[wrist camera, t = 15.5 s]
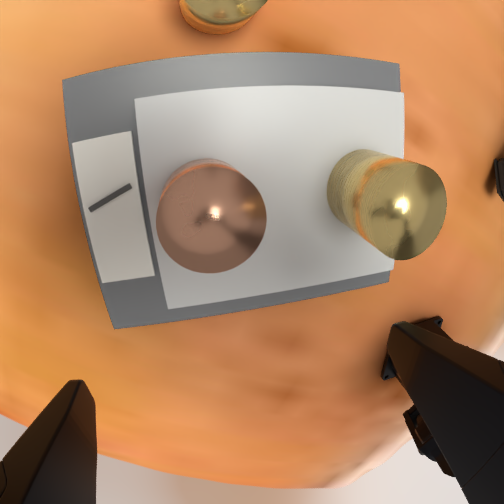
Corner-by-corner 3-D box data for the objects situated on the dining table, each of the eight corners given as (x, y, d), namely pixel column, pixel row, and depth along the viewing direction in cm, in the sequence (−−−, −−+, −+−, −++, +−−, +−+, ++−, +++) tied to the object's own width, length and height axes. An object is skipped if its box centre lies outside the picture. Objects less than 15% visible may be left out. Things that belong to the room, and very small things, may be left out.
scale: (372, 267, 24) (400, 292, 21) (118, 308, 21) (110, 345, 18) (378, 66, 18) (415, 62, 14) (75, 83, 15) (51, 77, 11)
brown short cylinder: (255, 238, 17) (271, 262, 14) (170, 254, 16) (168, 282, 13) (245, 151, 15) (260, 158, 12) (152, 167, 14) (145, 178, 12)
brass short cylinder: (391, 222, 18) (439, 252, 14) (325, 230, 17) (367, 267, 13) (395, 149, 16) (450, 164, 12) (326, 150, 16) (374, 165, 12)
